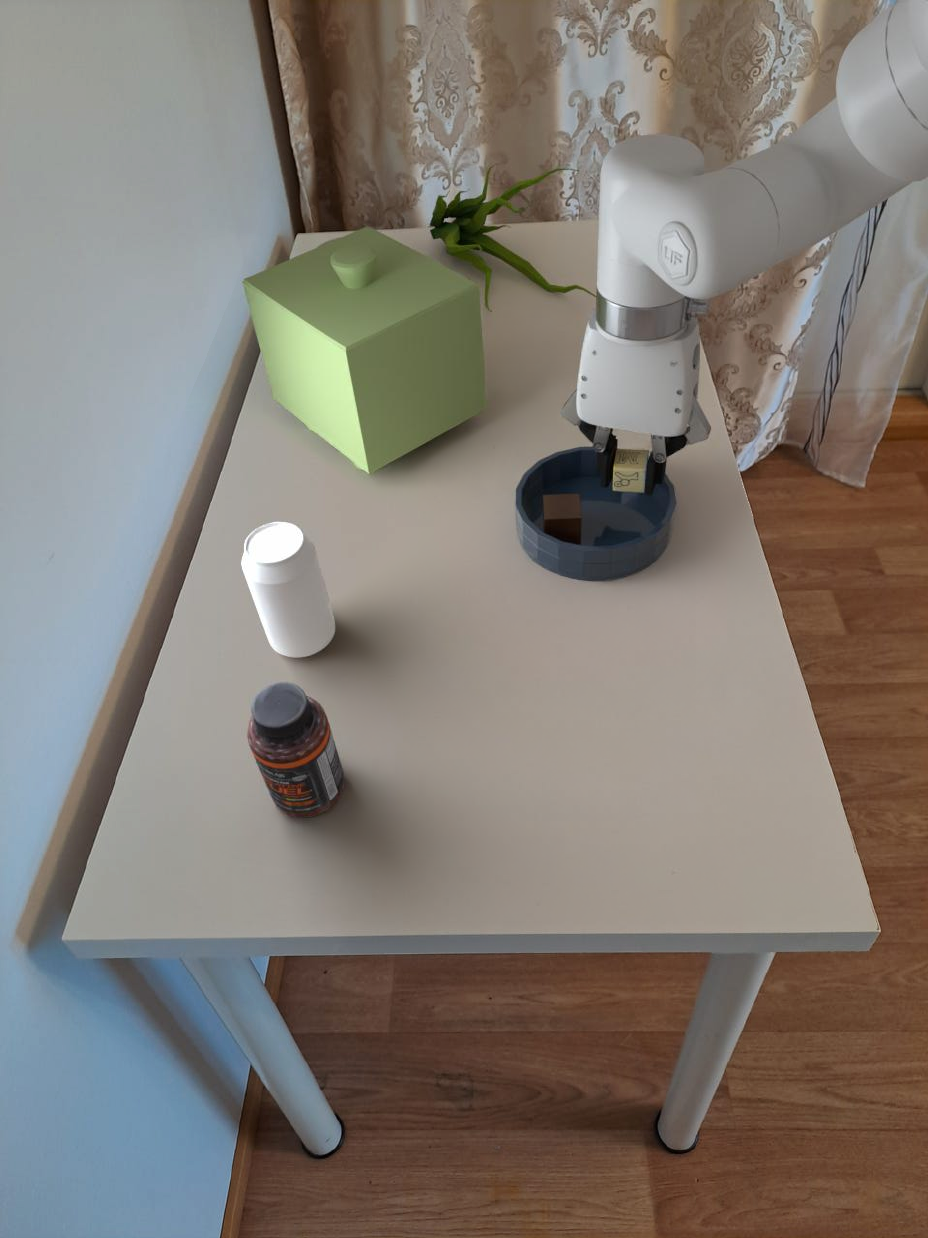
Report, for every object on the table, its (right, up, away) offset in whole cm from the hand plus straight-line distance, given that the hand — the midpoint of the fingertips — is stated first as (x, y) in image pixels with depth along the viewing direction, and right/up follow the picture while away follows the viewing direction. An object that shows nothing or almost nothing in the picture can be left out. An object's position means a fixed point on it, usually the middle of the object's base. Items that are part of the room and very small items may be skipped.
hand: (629, 480), depth 87 cm
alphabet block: (0, 0, 0) cm, 0 cm away
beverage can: (-31, -15, -4) cm, 34 cm away
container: (-25, +9, +17) cm, 32 cm away
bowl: (-3, -4, +3) cm, 6 cm away
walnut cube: (-6, -5, +2) cm, 8 cm away
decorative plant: (-9, +33, +37) cm, 51 cm away
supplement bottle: (-28, -27, -15) cm, 42 cm away
